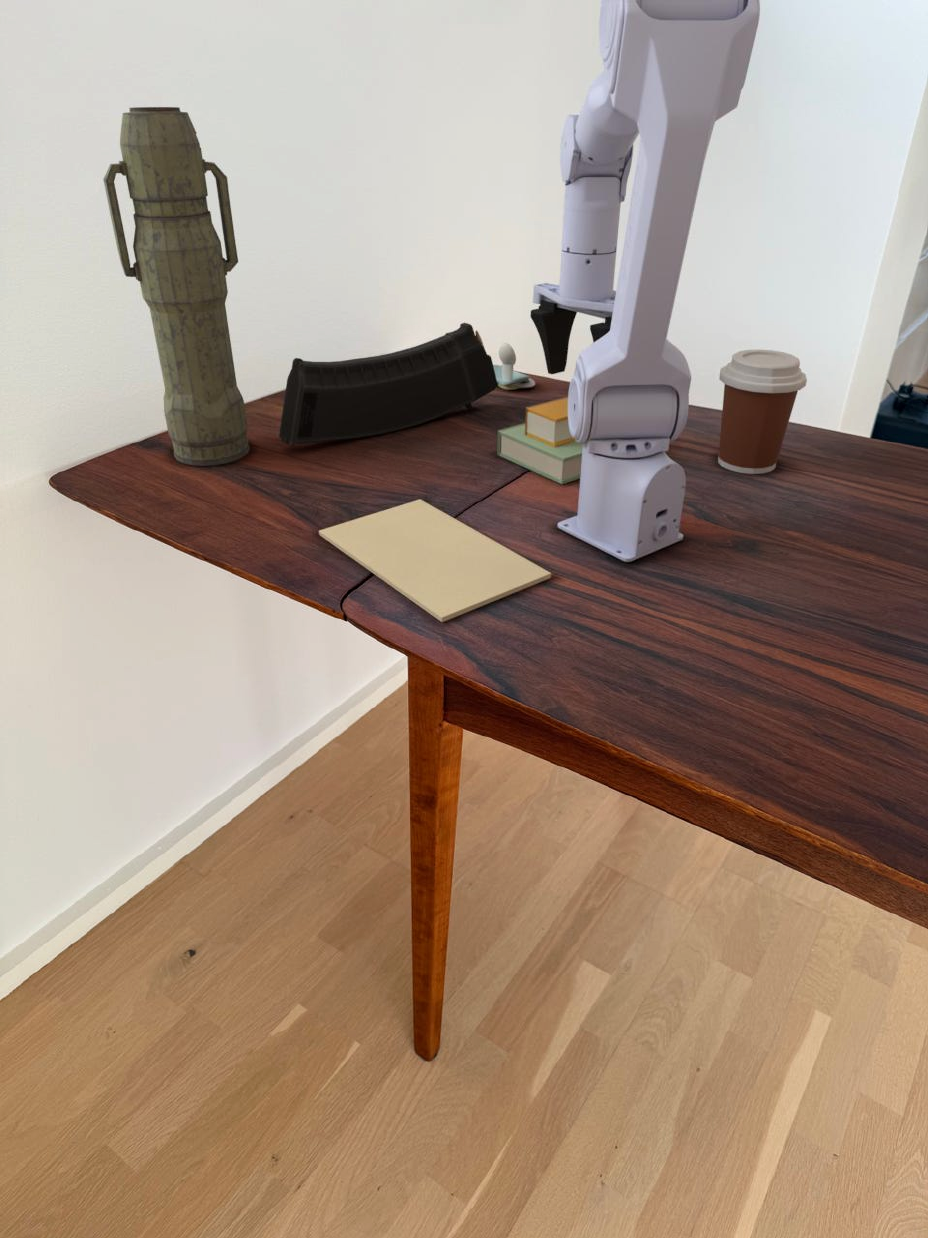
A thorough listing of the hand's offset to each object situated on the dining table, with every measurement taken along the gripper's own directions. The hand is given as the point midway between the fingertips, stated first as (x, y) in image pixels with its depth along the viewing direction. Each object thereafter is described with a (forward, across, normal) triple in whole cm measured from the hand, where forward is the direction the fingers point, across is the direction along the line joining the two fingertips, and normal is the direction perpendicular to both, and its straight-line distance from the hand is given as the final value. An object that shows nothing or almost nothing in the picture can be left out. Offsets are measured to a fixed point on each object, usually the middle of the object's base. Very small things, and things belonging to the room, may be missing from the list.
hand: (579, 380), depth 96 cm
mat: (+9, -10, +29) cm, 32 cm away
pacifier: (+9, +24, -12) cm, 28 cm away
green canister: (+9, +27, +34) cm, 44 cm away
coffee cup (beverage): (+9, -14, -13) cm, 22 cm away
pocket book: (+6, 0, 0) cm, 6 cm away
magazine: (+9, +21, +12) cm, 25 cm away
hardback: (+9, 0, 0) cm, 9 cm away
